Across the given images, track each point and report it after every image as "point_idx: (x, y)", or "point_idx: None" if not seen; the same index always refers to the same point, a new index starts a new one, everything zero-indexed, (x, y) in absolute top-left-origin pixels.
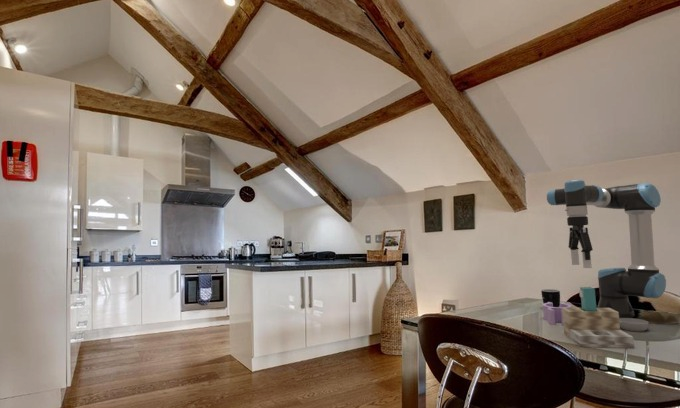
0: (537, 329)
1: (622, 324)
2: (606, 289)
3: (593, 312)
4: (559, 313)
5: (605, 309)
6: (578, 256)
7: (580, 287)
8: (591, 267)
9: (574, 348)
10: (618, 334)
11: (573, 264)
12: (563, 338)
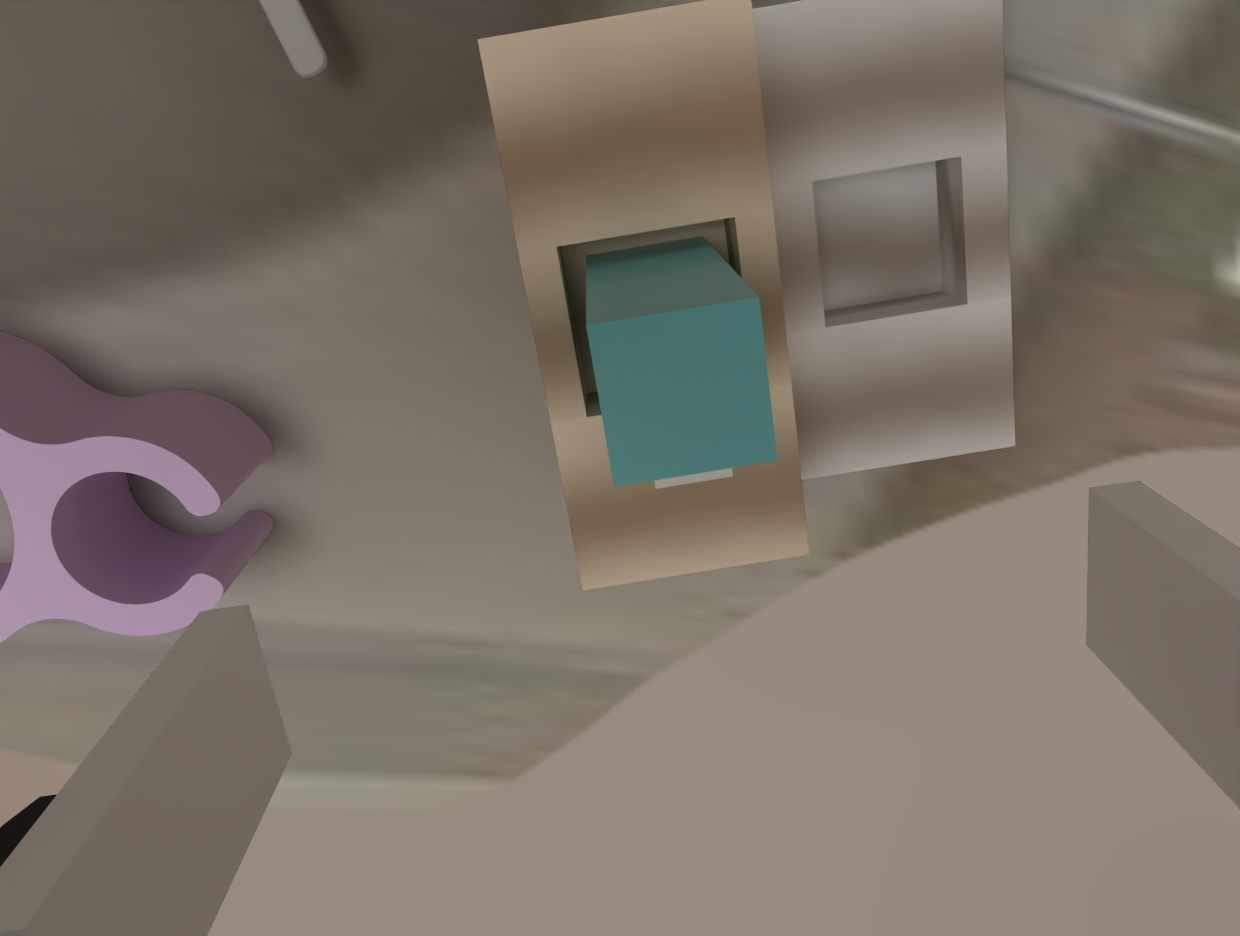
0: (494, 673)
1: None
2: None
3: (780, 296)
4: (85, 492)
5: (605, 118)
6: (153, 749)
7: (630, 482)
8: (1147, 489)
9: (1034, 468)
10: (918, 87)
11: (283, 738)
12: None
